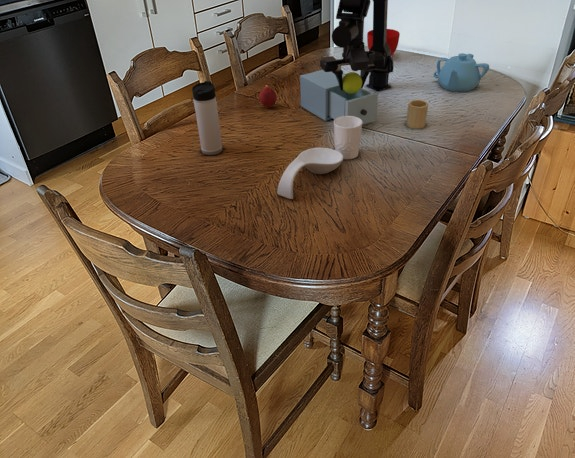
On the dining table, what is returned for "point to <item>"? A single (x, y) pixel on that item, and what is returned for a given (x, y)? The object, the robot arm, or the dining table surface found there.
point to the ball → (352, 82)
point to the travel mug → (207, 118)
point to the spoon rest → (309, 167)
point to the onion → (267, 97)
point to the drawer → (353, 104)
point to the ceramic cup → (391, 39)
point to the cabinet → (317, 92)
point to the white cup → (347, 136)
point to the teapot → (460, 73)
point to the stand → (417, 114)
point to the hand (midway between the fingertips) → (351, 89)
